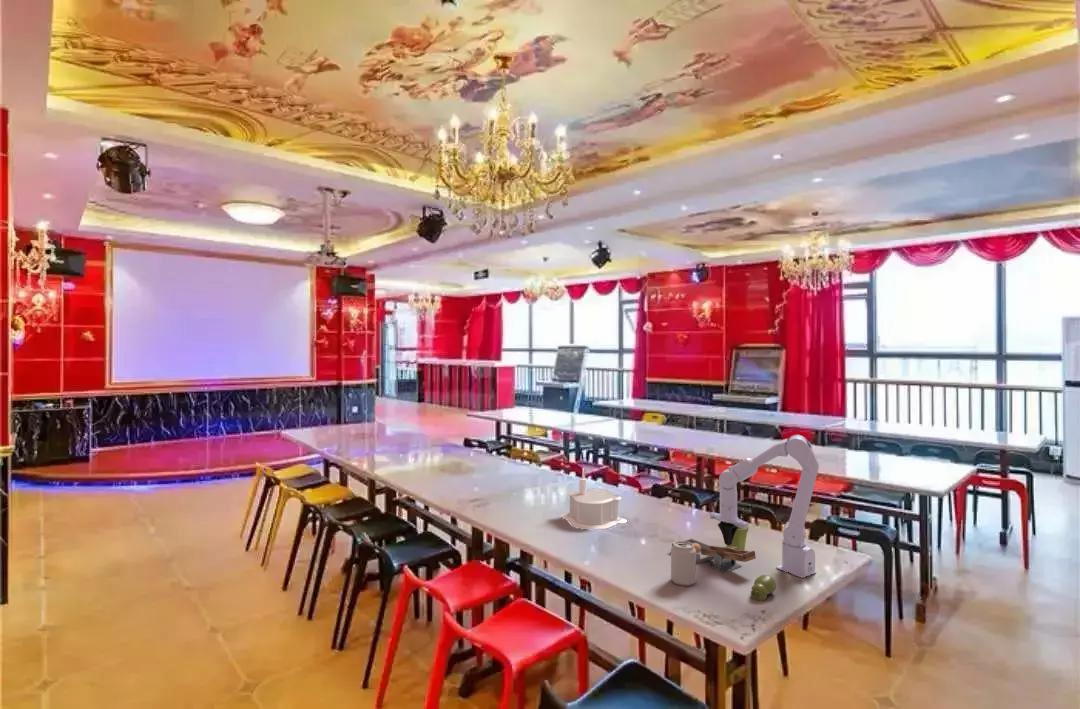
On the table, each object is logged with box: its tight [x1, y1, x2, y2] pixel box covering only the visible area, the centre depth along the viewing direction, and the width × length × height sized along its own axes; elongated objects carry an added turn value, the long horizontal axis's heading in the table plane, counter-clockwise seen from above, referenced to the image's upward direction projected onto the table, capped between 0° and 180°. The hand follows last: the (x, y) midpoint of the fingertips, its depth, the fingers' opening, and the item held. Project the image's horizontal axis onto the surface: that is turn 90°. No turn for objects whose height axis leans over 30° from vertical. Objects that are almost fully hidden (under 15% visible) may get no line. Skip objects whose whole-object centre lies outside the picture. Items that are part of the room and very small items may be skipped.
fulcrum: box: [708, 553, 742, 574], centre depth 186 cm, size 6×9×5 cm, turn 123°
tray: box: [671, 538, 714, 564], centre depth 196 cm, size 12×10×3 cm
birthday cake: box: [561, 467, 628, 530], centre depth 236 cm, size 30×29×22 cm
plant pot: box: [726, 524, 750, 551], centre depth 202 cm, size 9×9×9 cm
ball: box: [693, 543, 701, 553], centre depth 196 cm, size 4×4×4 cm
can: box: [670, 540, 697, 587], centre depth 173 cm, size 8×8×12 cm
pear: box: [750, 574, 777, 602], centre depth 164 cm, size 6×5×10 cm
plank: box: [701, 545, 757, 563], centre depth 187 cm, size 18×13×2 cm
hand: (728, 544), depth 192 cm, fingers closed
